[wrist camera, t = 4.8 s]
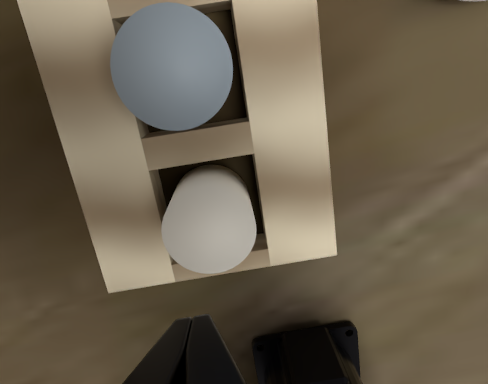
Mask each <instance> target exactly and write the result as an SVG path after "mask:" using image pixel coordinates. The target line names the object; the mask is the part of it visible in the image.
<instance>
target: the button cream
mask: <svg viewBox="0 0 488 384" xmlns="http://www.w3.org/2000/svg"><path fill="white" fill-rule="evenodd" d="M256 231H257V229H256V222H255V217H254V213H253V209H252V205H251V201H250V196H249V192H248V189H247V186H246V185H245V183H244V181H243V180H242V178H241V177H240V176H239V175H238V174H237V173H235V172H234V171H232V170H231V169H229V168H226V167H224V166H220V165H203V166H199V167H196V168H194V169H192V170H190V171H189V172H188V173H186V174H185V175H184V176H183V177H182V179H181V180H180V181H179V183H178V185H177V187H176V189H175V192H174V194H173V196H172V198H171V201H170V203H169V205H168V208H167V210H166V212H165V215H164V217H163V221H162V227H161V233H162V240H163V243H164V246H165V248H166V250H167V251H168V253H169V254H170V256H171V257H172V258H173V259H174V260H175V261H176V262H177V263H178V264H180V265H181V266H183V267H184V268H186V269H188V270H191V271H194V272H198V273H203V274H215V273H221V272H224V271H227V270H230V269H232V268H234V267H235V266H237V265H238V264H240V263H241V262H242V261H243V260H244V259H245V258H246V257H247V256H248V254H249V253H250V252H251V250H252V248H253V246H254V243H255V239H256Z"/></svg>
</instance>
